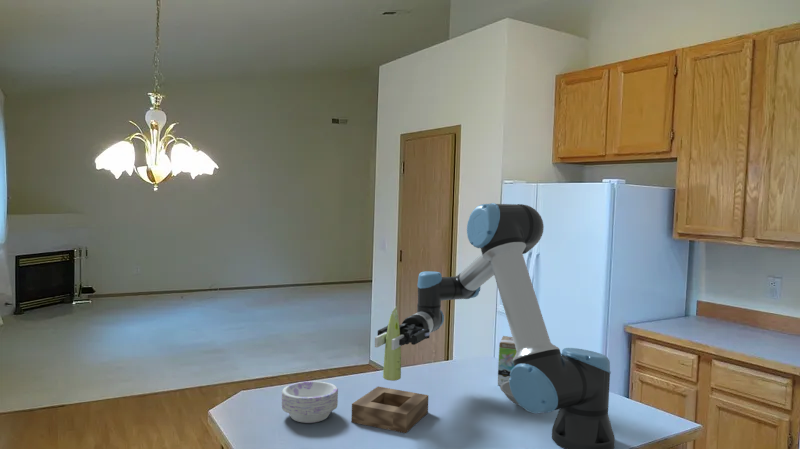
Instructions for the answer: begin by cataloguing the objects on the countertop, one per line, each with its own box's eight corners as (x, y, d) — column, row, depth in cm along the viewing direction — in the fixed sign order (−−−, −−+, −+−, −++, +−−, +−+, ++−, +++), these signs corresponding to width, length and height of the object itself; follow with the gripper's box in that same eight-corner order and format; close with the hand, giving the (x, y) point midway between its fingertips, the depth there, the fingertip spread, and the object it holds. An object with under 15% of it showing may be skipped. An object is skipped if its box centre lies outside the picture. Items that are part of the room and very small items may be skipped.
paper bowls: (306, 403, 162) (307, 376, 162) (348, 414, 154) (348, 386, 154) (269, 419, 149) (269, 390, 149) (313, 432, 141) (313, 402, 141)
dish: (561, 416, 157) (562, 399, 156) (514, 419, 154) (514, 401, 154) (534, 395, 174) (535, 379, 174) (491, 397, 171) (492, 381, 171)
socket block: (427, 412, 157) (428, 395, 157) (406, 433, 142) (406, 414, 142) (377, 403, 163) (377, 386, 163) (351, 422, 149) (351, 403, 149)
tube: (405, 380, 152) (407, 309, 151) (390, 383, 149) (391, 311, 148) (394, 374, 156) (396, 306, 156) (379, 377, 154) (380, 307, 153)
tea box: (497, 386, 182) (498, 341, 181) (500, 377, 191) (502, 335, 191) (544, 392, 177) (545, 346, 177) (545, 382, 187) (546, 339, 186)
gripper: (443, 342, 165) (414, 362, 144) (391, 335, 172) (355, 353, 151) (444, 317, 165) (414, 333, 144) (391, 311, 172) (356, 325, 150)
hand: (384, 343), depth 147 cm, fingers closed on tube, 4 cm apart
